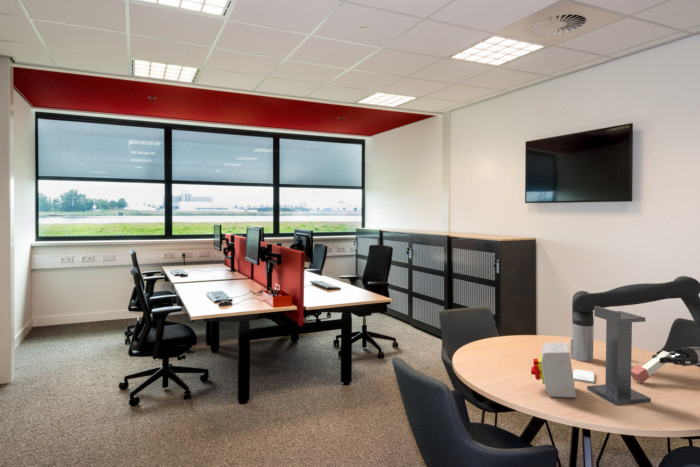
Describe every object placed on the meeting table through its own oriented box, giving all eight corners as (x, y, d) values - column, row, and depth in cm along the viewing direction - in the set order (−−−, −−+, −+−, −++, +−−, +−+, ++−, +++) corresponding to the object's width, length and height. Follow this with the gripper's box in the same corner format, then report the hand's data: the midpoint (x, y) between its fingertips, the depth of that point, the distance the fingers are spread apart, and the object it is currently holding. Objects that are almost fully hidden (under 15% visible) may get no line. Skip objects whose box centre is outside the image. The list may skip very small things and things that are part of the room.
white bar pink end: (664, 355, 187) (660, 347, 186) (673, 359, 182) (669, 350, 182) (633, 379, 184) (628, 370, 184) (642, 383, 180) (637, 374, 179)
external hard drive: (594, 375, 193) (594, 385, 182) (574, 372, 197) (572, 381, 186) (594, 372, 192) (594, 381, 182) (574, 368, 197) (572, 377, 186)
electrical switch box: (536, 386, 184) (528, 340, 185) (574, 387, 178) (567, 339, 178) (534, 400, 171) (526, 349, 172) (576, 401, 165) (568, 349, 165)
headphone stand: (619, 386, 178) (620, 303, 177) (650, 402, 164) (652, 311, 162) (587, 389, 176) (588, 305, 174) (616, 405, 161) (617, 313, 159)
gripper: (675, 343, 193) (642, 345, 190) (706, 352, 180) (671, 355, 176) (675, 359, 194) (642, 362, 190) (706, 370, 180) (671, 373, 177)
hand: (656, 359), depth 183 cm, fingers closed on white bar pink end, 3 cm apart
